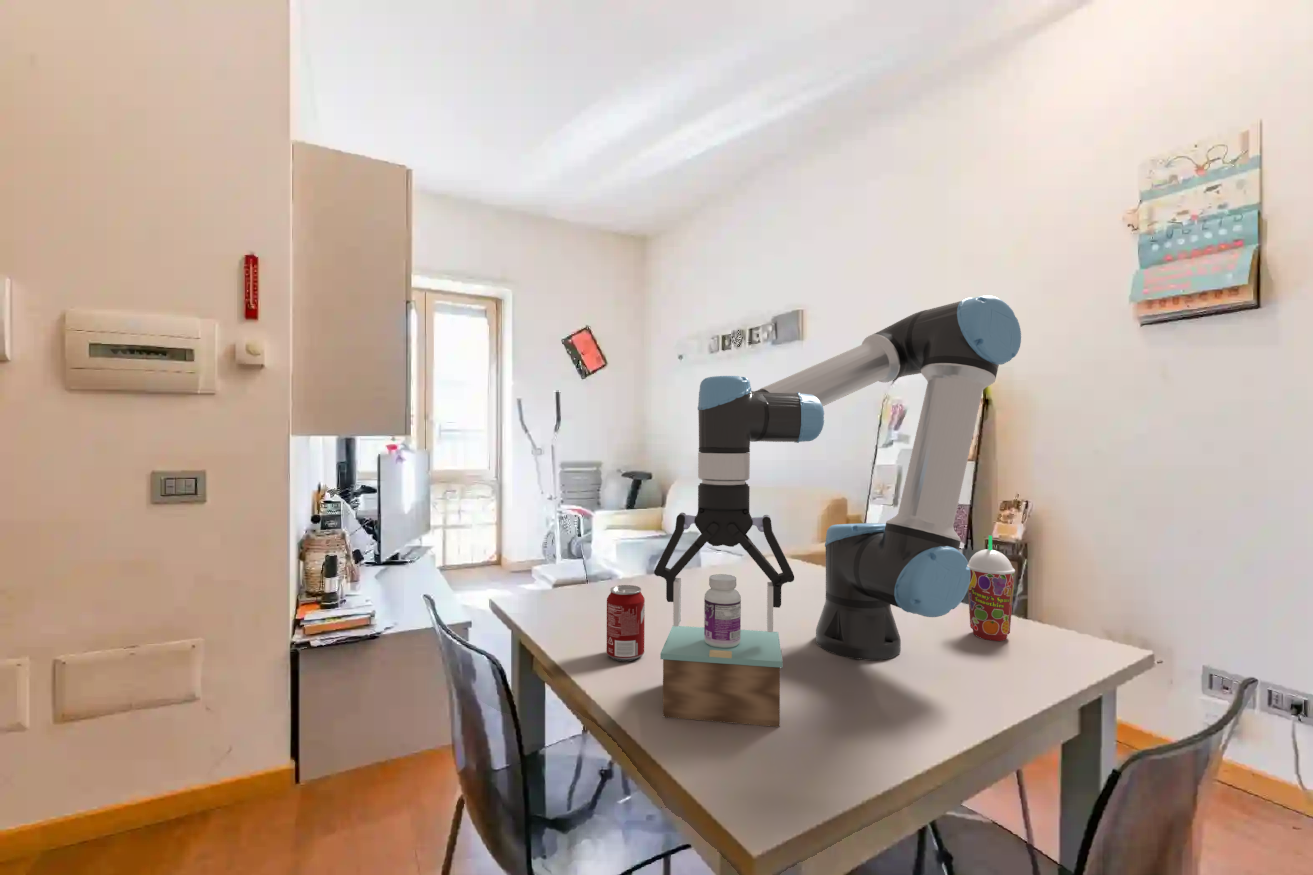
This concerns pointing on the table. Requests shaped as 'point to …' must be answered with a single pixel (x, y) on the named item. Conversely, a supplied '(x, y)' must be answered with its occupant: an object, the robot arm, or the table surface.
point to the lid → (750, 650)
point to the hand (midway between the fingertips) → (722, 626)
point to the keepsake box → (721, 692)
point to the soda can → (625, 623)
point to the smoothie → (990, 594)
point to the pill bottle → (722, 612)
